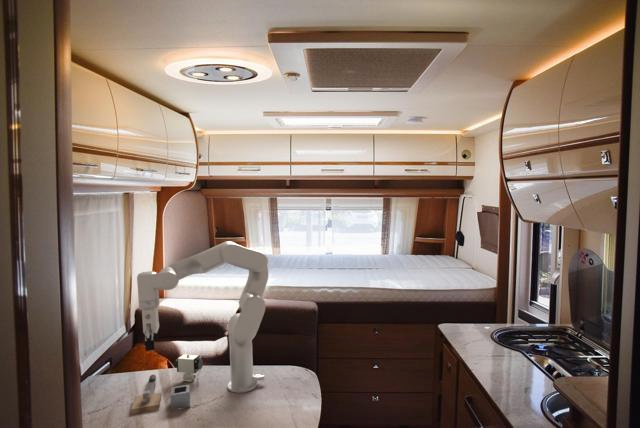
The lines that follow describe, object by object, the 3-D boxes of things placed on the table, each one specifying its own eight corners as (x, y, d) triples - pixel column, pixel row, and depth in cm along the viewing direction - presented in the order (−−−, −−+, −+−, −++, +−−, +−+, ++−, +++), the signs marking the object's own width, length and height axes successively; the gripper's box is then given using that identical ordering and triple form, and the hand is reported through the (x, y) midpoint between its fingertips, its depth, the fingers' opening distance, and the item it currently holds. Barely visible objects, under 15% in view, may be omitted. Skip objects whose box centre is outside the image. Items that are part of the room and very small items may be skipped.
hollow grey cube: (190, 398, 167) (189, 384, 167) (190, 407, 160) (189, 392, 160) (172, 401, 165) (171, 387, 165) (171, 410, 158) (170, 395, 158)
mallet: (164, 378, 185) (164, 367, 185) (159, 409, 159) (158, 395, 159) (141, 382, 182) (140, 370, 182) (131, 414, 156) (130, 400, 156)
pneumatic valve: (198, 383, 180) (197, 357, 179) (174, 382, 182) (173, 355, 181) (204, 378, 185) (203, 352, 184) (181, 376, 187) (180, 350, 187)
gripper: (156, 308, 153) (159, 352, 154) (161, 296, 170) (163, 336, 171) (135, 310, 151) (137, 355, 152) (142, 298, 168) (144, 339, 169)
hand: (151, 345), depth 162 cm, fingers open, 9 cm apart
